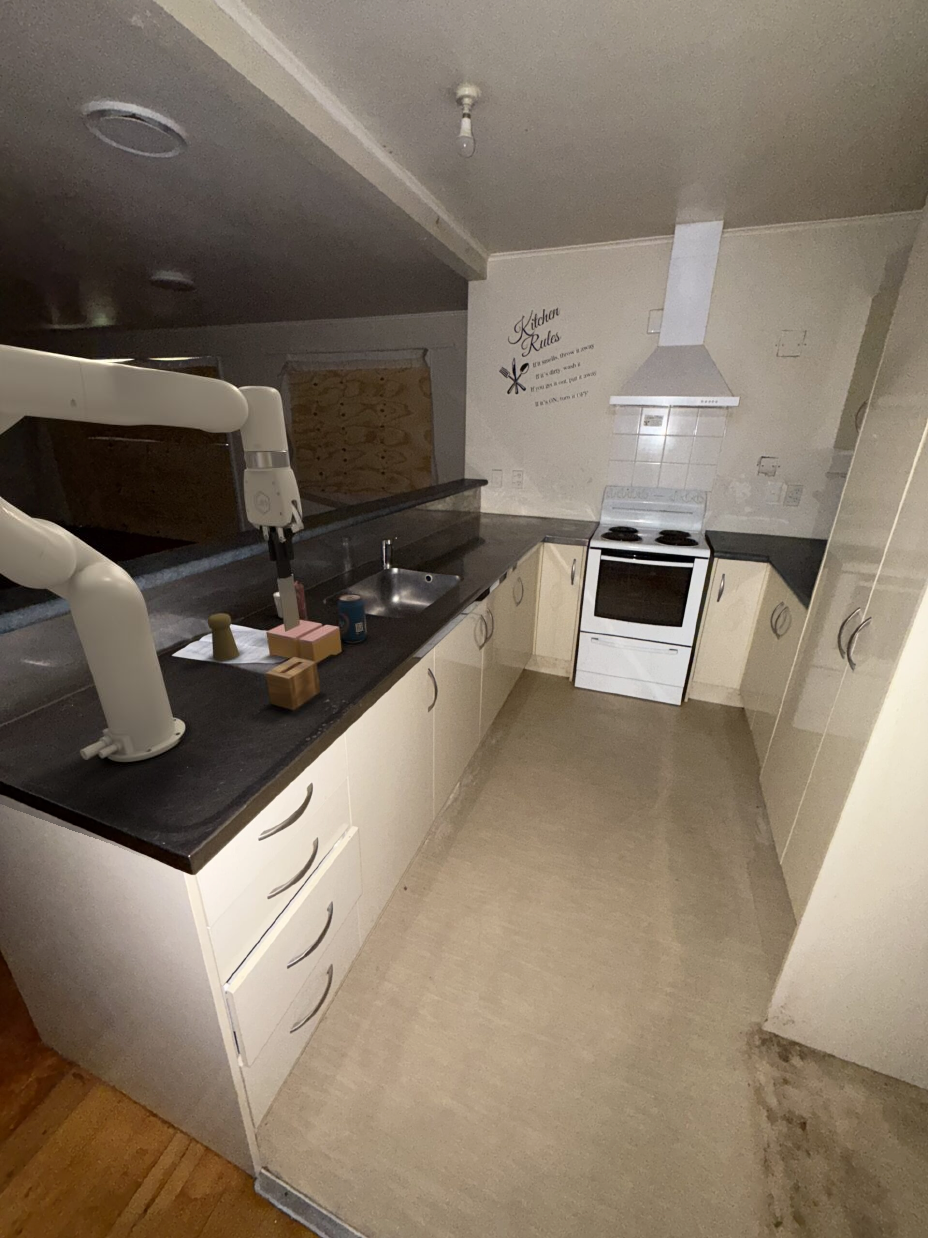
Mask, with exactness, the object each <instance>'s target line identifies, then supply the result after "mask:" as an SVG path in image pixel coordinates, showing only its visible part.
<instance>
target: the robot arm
mask: <svg viewBox="0 0 928 1238" xmlns="http://www.w3.org/2000/svg"><path fill="white" fill-rule="evenodd" d="M24 417H35V418H36V417H37V418H47V419H57V420H67V421H74V422H75V421H77V422H86V423H93V424H94V423H95V424H104V425H117V426H143V425H145V426H146V425H149V426H150V425H153V426H154V425H155V426H167V427H168V426H169V427H180V428H189V429H197V430H198V429H199V430H202V431H204V432H208V433H231V432H236V431H238V430H239V431H240V436H241V442H242V449H243V455H244V457H243V458H244V462H245V466H246V469H244V471H243V495H244V503H245V504H244V505H245V512H246V517H247V518H246V519H247V521H248V522H249V523H250V524H251V525H252V526H253V527H254V528H256V529H257V530H259V531H260V533H262V535H263V539H264V540H265V541H267V548H268V554H269V560H270V561H271V562H276V561H275V554H274V548H273V541H272V535H271V532H275V531H278V534H279V540H280V542H278V551H279V557H280V561H281V562H283V563H284V562H287V561H290V562H291V561H293V560H294V559H295V553H294V552H295V551H294V546H293V545H294V544H293V540H295V536H296V534H297V533H298V532H300V531H303V530H304V529H305V526H304V524H303V522H302V521H303V510H302V504H301V497H300V492H299V491H300V490H299V488H298V484H297V479H296V476H295V473H294V470H293V469H292V468H291V462H290V461H291V459H290V452H289V446H288V438H287V429H286V423H285V417H284V409H283V401H282V396H281V394H280V392H279V390H278V389H276V388H274V387H272V386H271V387H270V386H265V385H264V386H262V385H248V386H247V385H246V386H245V385H244V386H240V387H237V386H235V385H233V384H232V383H230V382H228V381H226V380H223V379H217V378H212V377H206V376H200V375H195V374H188V373H183V372H176V371H169V370H162V369H156V368H155V369H154V368H146V367H141V366H140V367H139V366H134V365H129V364H123V363H117V362H108V361H102V360H96V359H90V358H85V357H77V356H72V355H71V356H70V355H66V354H60V353H53V352H48V351H43V350H36V349H31V348H24V347H18V346H12V345H6V344H0V435H1V434H3V433H4V432H6V431H7V430H9V429H10V428H12V427H13V426H14V425H15V424H16V423H18V422H19V421H20V420H21V419H23V418H24ZM0 574H1V575H3V576H4V577H6V578H7V579H9V580H10V581H12V582H14V583H16V584H17V585H20V586H23V587H26V588H31V589H37V590H45V589H46V590H48V591H50V592H52V593H53V594H55V595H57V596H58V597H60V598H62V599H64V600H65V601H67V602H69V603H68V604H69V608H70V613H71V617H72V620H73V623H74V626H75V629H76V632H77V634H78V637H79V640H80V643H81V646H82V649H83V652H84V655H85V658H86V661H87V664H88V667H89V671H90V674H91V676H92V679H93V683H94V686H95V689H96V692H97V695H98V699H99V702H100V705H101V708H102V711H103V715H104V717H105V720H106V724H107V727H106V728H104V729H102V734H103V736H102V737H100V738H99V739H98V741H97V742H95V743H91V744H90V745H87V746H86V747H84V748H81V749H80V750H79V753H80V756H81V757H82V759H84V761H85V760H86V761H87V760H89V759H92V758H93V757H96V756H97V755H98V756H99V757H100V758H101V759H104V758H107V759H109V760H111V761H113V762H121V763H128V762H130V763H131V762H138V761H143V760H147V759H150V758H153V757H156V756H159V755H160V754H163V753H165V752H167V751H168V750H170V749H172V748H173V747H175V746H177V745H178V744H179V743H180V742H181V741H182V739H180V738H181V737H182V736H183V735H184V733H185V731H186V724H185V722H184V721H183V720H181V719H180V718H177V717H173V713H172V709H171V704H170V700H169V697H168V692H167V689H166V685H165V681H164V677H163V673H162V668H161V666H160V662H159V657H158V654H157V649H156V646H155V642H154V638H153V634H152V629H151V623H150V619H149V614H148V613H149V612H148V608H147V604H146V601H145V600H146V599H145V598H144V595H143V593H142V591H141V590H140V588H139V586H138V585H137V583H136V582H135V581H134V580H133V578H132V577H131V575H130V574H129V573H128V572H127V571H126V570H125V569H123V567H121V566H119V564H116V563H115V562H114V561H112V560H111V559H109V558H108V557H106V556H105V555H103V554H102V553H101V552H99V551H97V550H96V549H95V548H93V547H92V546H90V545H88V544H87V543H86V542H85V541H83V540H81V539H80V538H79V537H78V536H75V535H74V534H73V533H71V532H70V531H68V530H66V528H64V527H62V526H60V525H58V524H57V523H55V522H52V521H50V520H46V519H42V518H35V517H31V516H29V515H28V514H26V513H25V512H23V511H22V510H21V509H19V508H18V507H16V506H15V505H12V504H11V503H9V502H8V501H7V500H5V499H4V498H3V497H1V496H0Z"/></svg>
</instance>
